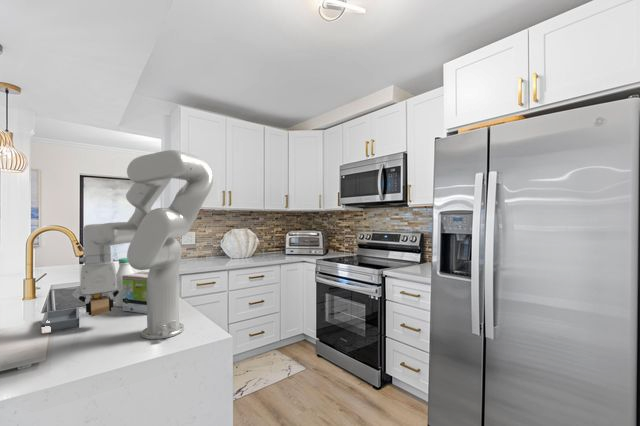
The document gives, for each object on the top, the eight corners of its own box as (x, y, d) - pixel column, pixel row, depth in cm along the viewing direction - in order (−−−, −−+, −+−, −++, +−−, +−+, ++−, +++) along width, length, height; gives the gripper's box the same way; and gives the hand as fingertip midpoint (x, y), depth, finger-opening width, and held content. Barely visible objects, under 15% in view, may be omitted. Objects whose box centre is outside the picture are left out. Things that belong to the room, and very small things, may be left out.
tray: (79, 327, 109) (79, 318, 109) (41, 334, 103) (40, 324, 103) (79, 315, 123) (79, 307, 123) (45, 320, 117) (45, 312, 117)
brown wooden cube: (109, 313, 108) (108, 297, 108) (91, 316, 105) (90, 300, 105) (108, 310, 112) (107, 295, 112) (90, 313, 109) (90, 298, 109)
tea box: (121, 311, 127) (121, 275, 127) (142, 304, 137) (141, 270, 137) (151, 315, 123) (151, 277, 123) (170, 307, 132) (170, 272, 132)
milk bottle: (125, 307, 132) (125, 260, 133) (110, 306, 134) (109, 259, 134) (139, 302, 140) (139, 257, 140) (124, 301, 142) (124, 257, 142)
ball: (104, 293, 109) (98, 287, 109) (95, 298, 107) (89, 292, 107) (104, 296, 111) (98, 290, 111) (95, 302, 109) (89, 295, 109)
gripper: (66, 263, 101) (68, 320, 101) (128, 257, 111) (130, 309, 111) (66, 261, 107) (68, 315, 107) (125, 256, 117) (127, 305, 117)
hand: (100, 311), depth 109 cm, fingers closed on brown wooden cube, 5 cm apart
